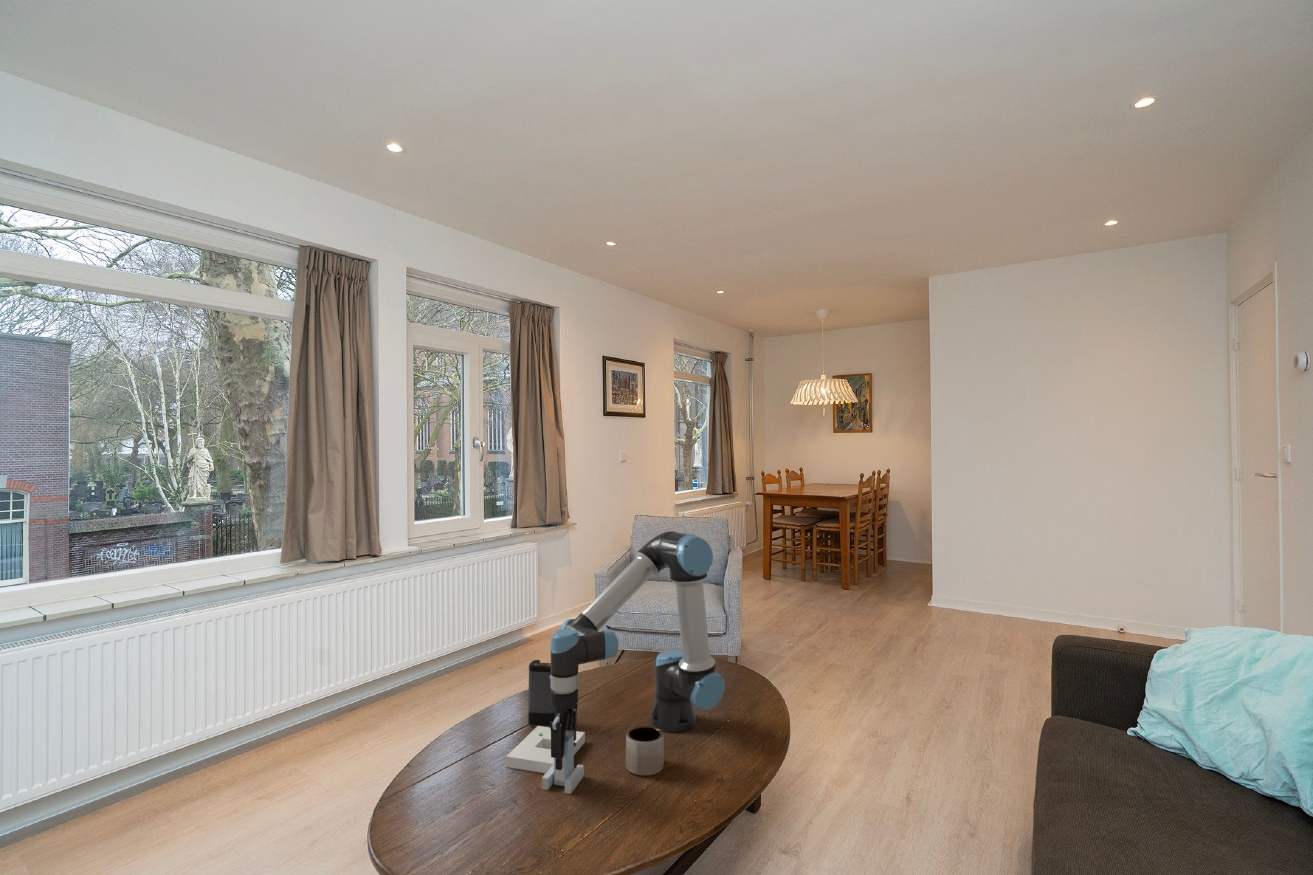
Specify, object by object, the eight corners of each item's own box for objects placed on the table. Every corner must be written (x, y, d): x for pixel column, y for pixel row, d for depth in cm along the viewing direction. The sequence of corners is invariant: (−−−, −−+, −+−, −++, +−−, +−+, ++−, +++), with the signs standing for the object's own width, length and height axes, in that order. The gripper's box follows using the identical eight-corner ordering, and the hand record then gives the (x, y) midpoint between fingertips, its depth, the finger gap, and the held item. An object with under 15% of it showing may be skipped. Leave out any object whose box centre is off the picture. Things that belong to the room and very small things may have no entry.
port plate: (584, 742, 187) (585, 730, 187) (557, 775, 168) (557, 762, 168) (537, 735, 191) (537, 724, 192) (506, 766, 172) (506, 754, 172)
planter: (668, 761, 176) (668, 728, 176) (656, 780, 166) (656, 744, 166) (633, 754, 180) (634, 722, 180) (619, 773, 169) (620, 738, 170)
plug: (573, 778, 166) (574, 729, 166) (567, 786, 162) (568, 736, 162) (559, 776, 167) (560, 728, 167) (553, 784, 163) (553, 734, 163)
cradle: (583, 776, 167) (583, 765, 168) (570, 793, 159) (570, 782, 159) (556, 771, 170) (556, 760, 170) (541, 788, 161) (541, 777, 161)
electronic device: (559, 720, 202) (560, 660, 203) (554, 728, 196) (555, 666, 197) (532, 719, 203) (533, 659, 204) (526, 727, 197) (527, 665, 198)
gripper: (564, 676, 174) (563, 758, 174) (537, 699, 158) (536, 790, 157) (588, 678, 172) (588, 761, 172) (564, 702, 156) (563, 794, 155)
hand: (563, 775), depth 164 cm, fingers closed on plug, 4 cm apart
